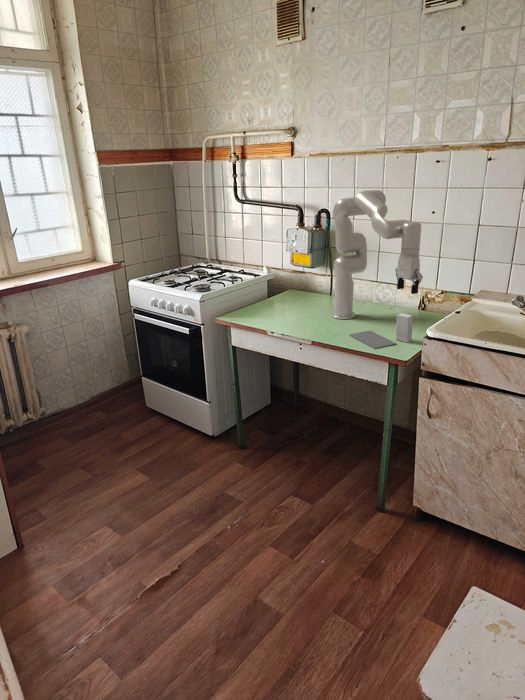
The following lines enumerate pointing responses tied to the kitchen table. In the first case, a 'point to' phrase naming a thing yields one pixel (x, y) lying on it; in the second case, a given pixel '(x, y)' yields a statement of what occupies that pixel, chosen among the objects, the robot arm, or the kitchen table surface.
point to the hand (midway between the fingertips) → (407, 291)
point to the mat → (372, 339)
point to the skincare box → (404, 327)
